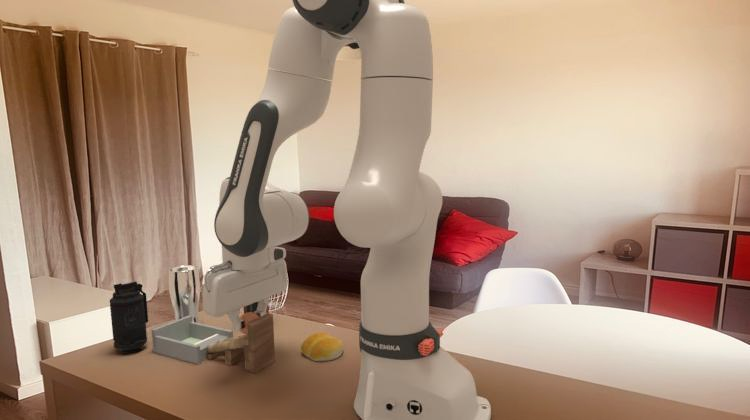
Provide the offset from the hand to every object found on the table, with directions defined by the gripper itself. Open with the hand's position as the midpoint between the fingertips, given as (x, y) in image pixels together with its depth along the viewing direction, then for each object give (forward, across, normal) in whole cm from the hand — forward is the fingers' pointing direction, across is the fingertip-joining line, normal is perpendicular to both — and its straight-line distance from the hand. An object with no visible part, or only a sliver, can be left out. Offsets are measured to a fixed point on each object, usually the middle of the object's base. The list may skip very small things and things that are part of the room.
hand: (249, 324), depth 99 cm
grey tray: (+8, 0, +17) cm, 19 cm away
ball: (0, 0, 0) cm, 0 cm away
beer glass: (+8, +8, +28) cm, 30 cm away
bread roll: (+9, +11, -10) cm, 17 cm away
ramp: (+8, 0, +4) cm, 9 cm away
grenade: (+8, -6, +29) cm, 31 cm away
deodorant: (+8, +17, +14) cm, 24 cm away
